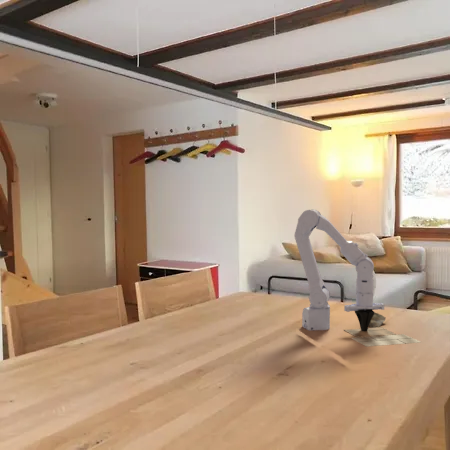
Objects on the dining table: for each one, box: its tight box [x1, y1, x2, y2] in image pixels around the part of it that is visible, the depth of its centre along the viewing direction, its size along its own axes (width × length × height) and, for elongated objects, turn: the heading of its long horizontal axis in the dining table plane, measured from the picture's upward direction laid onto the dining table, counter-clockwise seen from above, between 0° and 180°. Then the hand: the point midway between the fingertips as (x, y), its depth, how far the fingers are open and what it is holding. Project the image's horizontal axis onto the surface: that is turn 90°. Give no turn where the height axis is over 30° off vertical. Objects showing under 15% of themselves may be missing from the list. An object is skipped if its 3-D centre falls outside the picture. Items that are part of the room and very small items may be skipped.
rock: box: [368, 311, 386, 328], centre depth 184 cm, size 11×6×10 cm
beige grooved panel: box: [350, 333, 421, 348], centre depth 162 cm, size 20×10×2 cm, turn 104°
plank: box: [343, 326, 396, 338], centre depth 171 cm, size 15×9×2 cm, turn 104°
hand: (364, 330), depth 173 cm, fingers closed, pressing on plank
